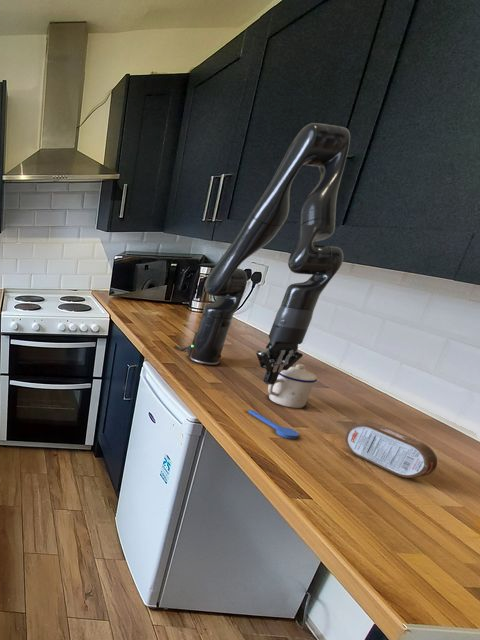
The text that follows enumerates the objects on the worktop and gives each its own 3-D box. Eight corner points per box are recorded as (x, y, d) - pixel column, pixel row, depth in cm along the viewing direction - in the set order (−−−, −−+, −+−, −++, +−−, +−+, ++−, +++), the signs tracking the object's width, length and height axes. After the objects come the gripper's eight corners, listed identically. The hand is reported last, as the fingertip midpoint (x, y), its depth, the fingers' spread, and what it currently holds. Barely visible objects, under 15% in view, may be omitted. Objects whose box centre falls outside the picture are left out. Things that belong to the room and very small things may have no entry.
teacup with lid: (286, 394, 122) (301, 359, 117) (313, 408, 114) (330, 370, 109) (251, 395, 121) (264, 359, 116) (275, 409, 112) (291, 371, 108)
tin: (426, 484, 83) (447, 450, 79) (416, 487, 82) (437, 452, 79) (345, 445, 96) (361, 414, 92) (336, 447, 95) (351, 416, 92)
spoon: (242, 412, 110) (243, 409, 110) (256, 412, 111) (257, 408, 110) (286, 439, 97) (287, 436, 97) (301, 438, 98) (303, 435, 98)
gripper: (299, 320, 111) (277, 378, 118) (257, 320, 109) (237, 378, 116) (325, 328, 104) (300, 388, 111) (281, 327, 102) (258, 389, 109)
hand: (268, 383), depth 114 cm, fingers closed
